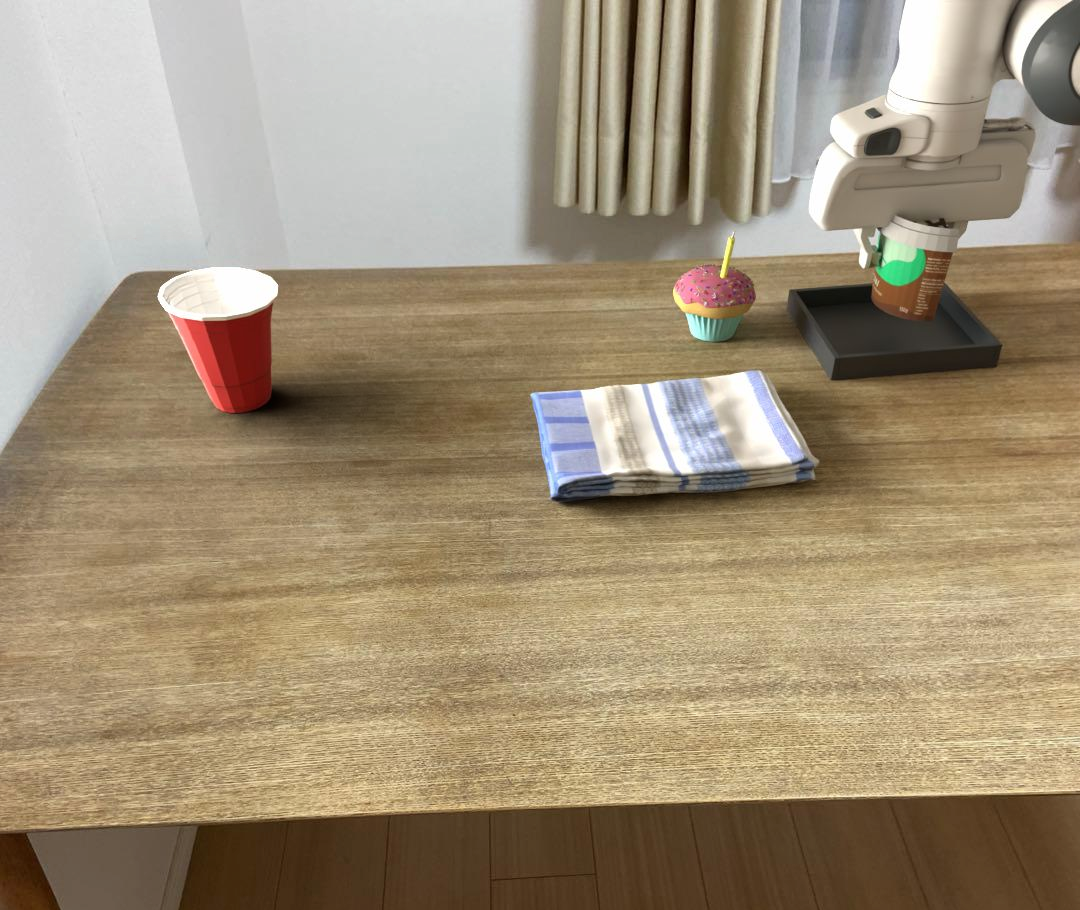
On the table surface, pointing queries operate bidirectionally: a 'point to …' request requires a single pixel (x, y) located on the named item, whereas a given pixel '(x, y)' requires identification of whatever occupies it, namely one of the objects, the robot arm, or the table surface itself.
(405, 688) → the table surface
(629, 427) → the dish towel
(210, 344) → the plastic cup
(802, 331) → the tray
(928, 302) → the food container
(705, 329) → the cupcake
